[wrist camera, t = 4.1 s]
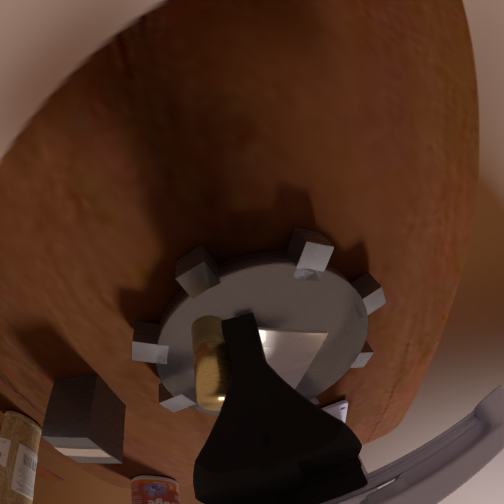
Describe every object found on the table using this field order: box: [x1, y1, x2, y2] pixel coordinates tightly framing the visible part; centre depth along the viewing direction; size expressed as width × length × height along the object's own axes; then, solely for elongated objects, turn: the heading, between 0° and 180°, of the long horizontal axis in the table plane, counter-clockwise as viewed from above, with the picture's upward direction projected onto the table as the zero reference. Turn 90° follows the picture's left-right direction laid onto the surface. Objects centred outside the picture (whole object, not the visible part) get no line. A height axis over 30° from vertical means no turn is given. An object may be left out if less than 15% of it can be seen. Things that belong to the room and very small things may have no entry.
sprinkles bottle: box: [0, 411, 42, 504], centre depth 12 cm, size 5×4×13 cm
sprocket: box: [132, 227, 386, 416], centre depth 14 cm, size 14×14×6 cm
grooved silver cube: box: [41, 374, 126, 463], centre depth 14 cm, size 4×4×5 cm
